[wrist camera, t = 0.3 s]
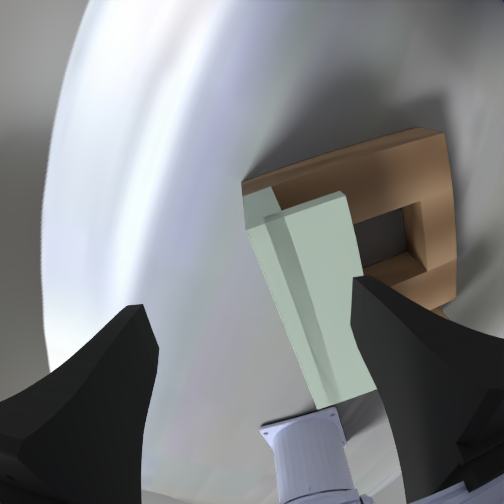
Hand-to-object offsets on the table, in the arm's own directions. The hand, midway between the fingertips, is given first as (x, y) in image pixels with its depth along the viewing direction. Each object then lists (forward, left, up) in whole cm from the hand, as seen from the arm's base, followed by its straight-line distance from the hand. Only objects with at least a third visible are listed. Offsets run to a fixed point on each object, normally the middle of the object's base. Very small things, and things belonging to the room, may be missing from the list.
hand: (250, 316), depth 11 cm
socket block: (-4, -8, -10) cm, 13 cm away
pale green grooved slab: (-4, -3, -10) cm, 11 cm away
